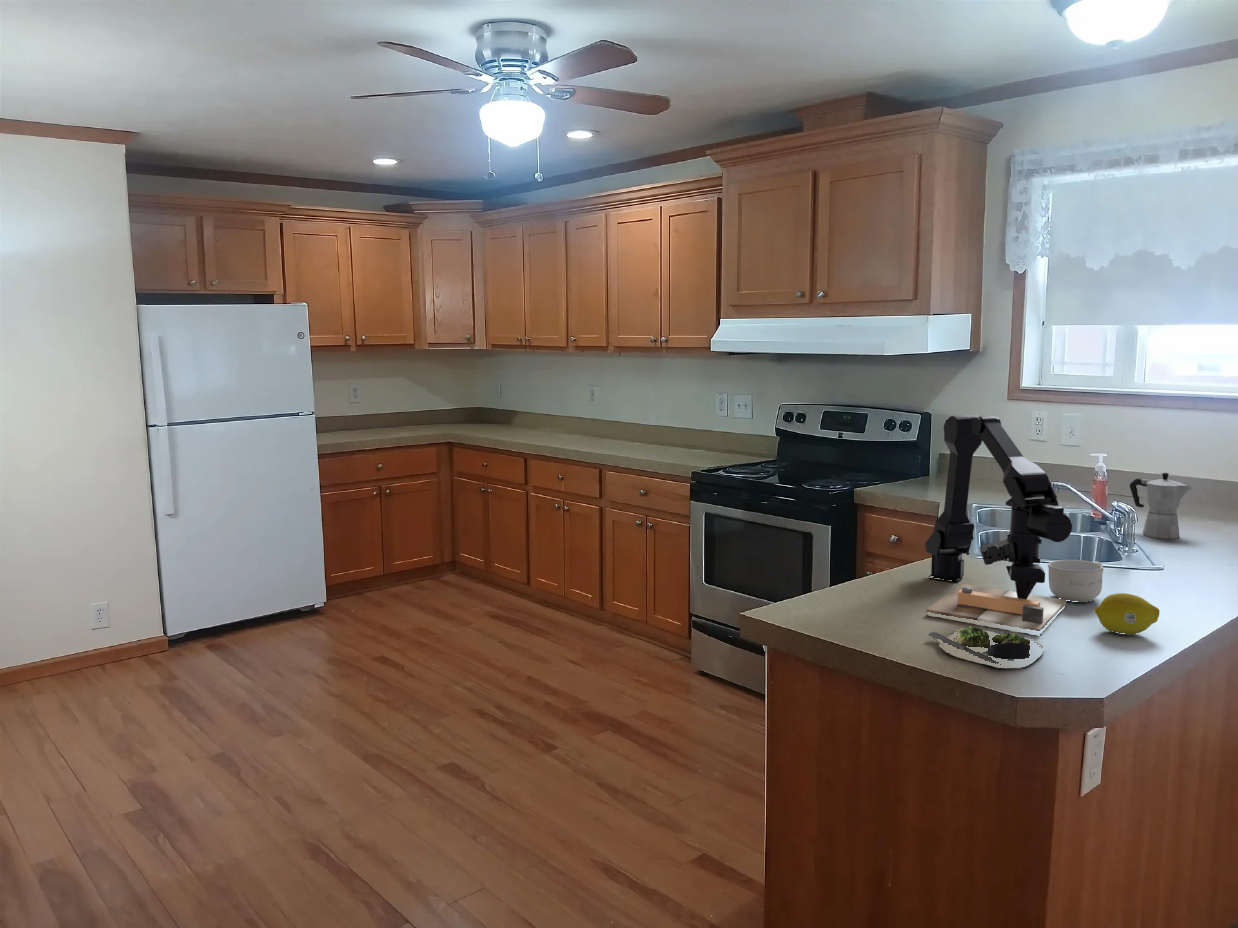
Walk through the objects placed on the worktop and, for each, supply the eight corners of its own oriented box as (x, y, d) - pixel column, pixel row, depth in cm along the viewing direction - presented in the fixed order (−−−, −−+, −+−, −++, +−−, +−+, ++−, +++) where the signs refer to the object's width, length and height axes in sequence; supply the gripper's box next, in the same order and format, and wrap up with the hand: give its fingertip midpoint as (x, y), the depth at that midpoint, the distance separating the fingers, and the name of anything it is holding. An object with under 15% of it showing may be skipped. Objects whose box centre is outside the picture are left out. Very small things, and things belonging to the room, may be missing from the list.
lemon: (1091, 635, 174) (1094, 595, 173) (1095, 623, 181) (1098, 585, 180) (1156, 644, 169) (1159, 603, 167) (1158, 632, 175) (1161, 593, 174)
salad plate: (909, 653, 167) (910, 629, 167) (949, 629, 180) (950, 607, 180) (1016, 679, 154) (1018, 653, 154) (1051, 651, 167) (1052, 627, 166)
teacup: (1071, 608, 191) (1073, 572, 189) (1035, 594, 201) (1036, 559, 200) (1124, 602, 194) (1127, 566, 193) (1086, 588, 205) (1088, 554, 203)
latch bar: (957, 603, 189) (958, 588, 188) (961, 600, 191) (961, 585, 190) (1036, 616, 180) (1037, 600, 179) (1039, 613, 182) (1040, 597, 181)
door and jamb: (926, 616, 187) (927, 595, 187) (961, 589, 205) (961, 570, 205) (1039, 636, 174) (1040, 614, 173) (1066, 606, 192) (1067, 586, 191)
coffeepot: (1192, 536, 252) (1197, 473, 250) (1182, 542, 246) (1187, 477, 243) (1132, 528, 263) (1136, 467, 261) (1121, 533, 257) (1125, 471, 254)
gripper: (980, 518, 196) (977, 587, 199) (986, 538, 179) (982, 613, 181) (1036, 521, 193) (1031, 591, 195) (1047, 542, 175) (1042, 618, 178)
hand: (1021, 603), depth 187 cm, fingers closed
